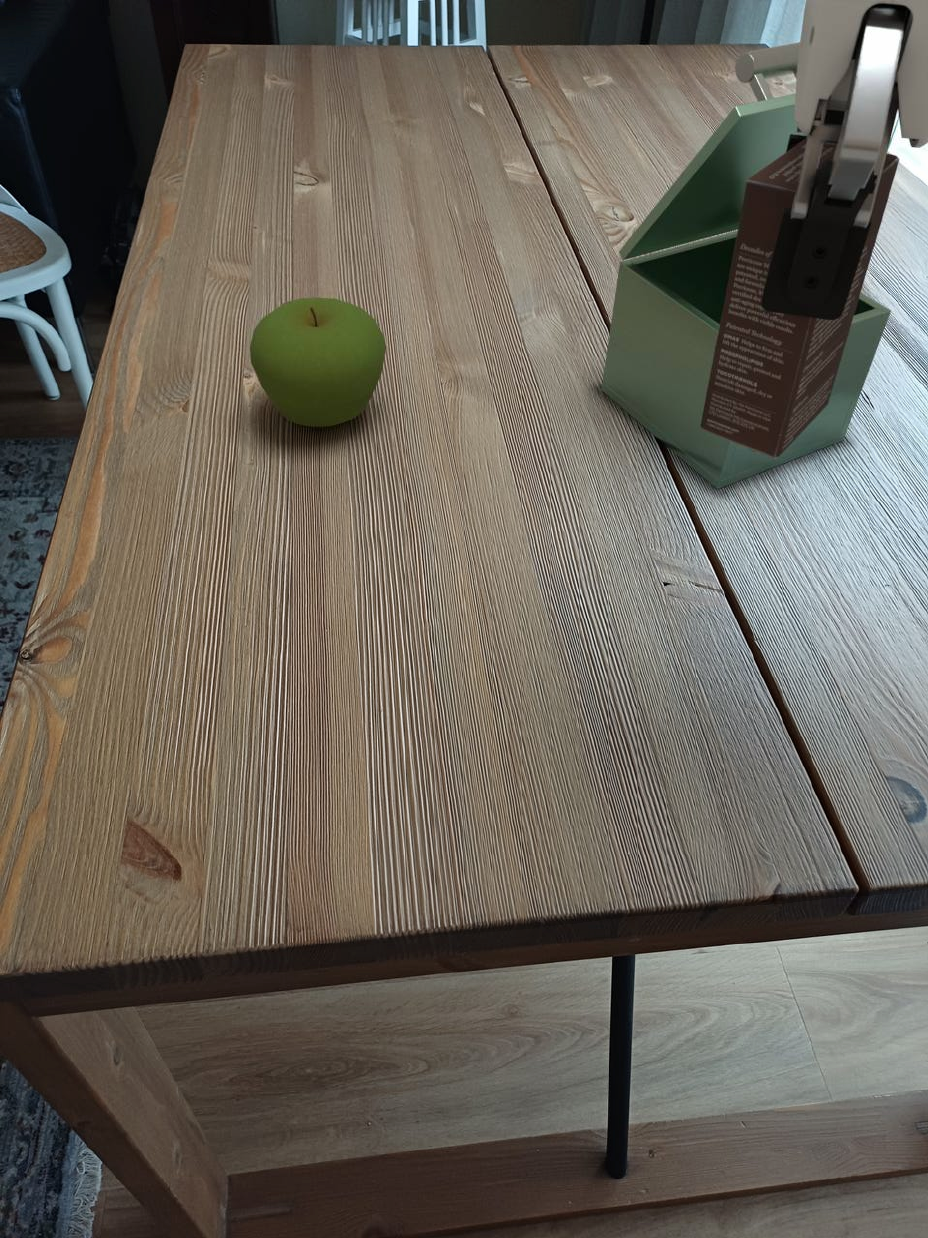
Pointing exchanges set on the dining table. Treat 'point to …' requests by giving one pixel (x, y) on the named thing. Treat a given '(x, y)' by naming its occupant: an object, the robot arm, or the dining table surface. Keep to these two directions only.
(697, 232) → the bin lid
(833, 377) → the box
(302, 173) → the dining table surface
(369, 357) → the apple
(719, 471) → the trash can
